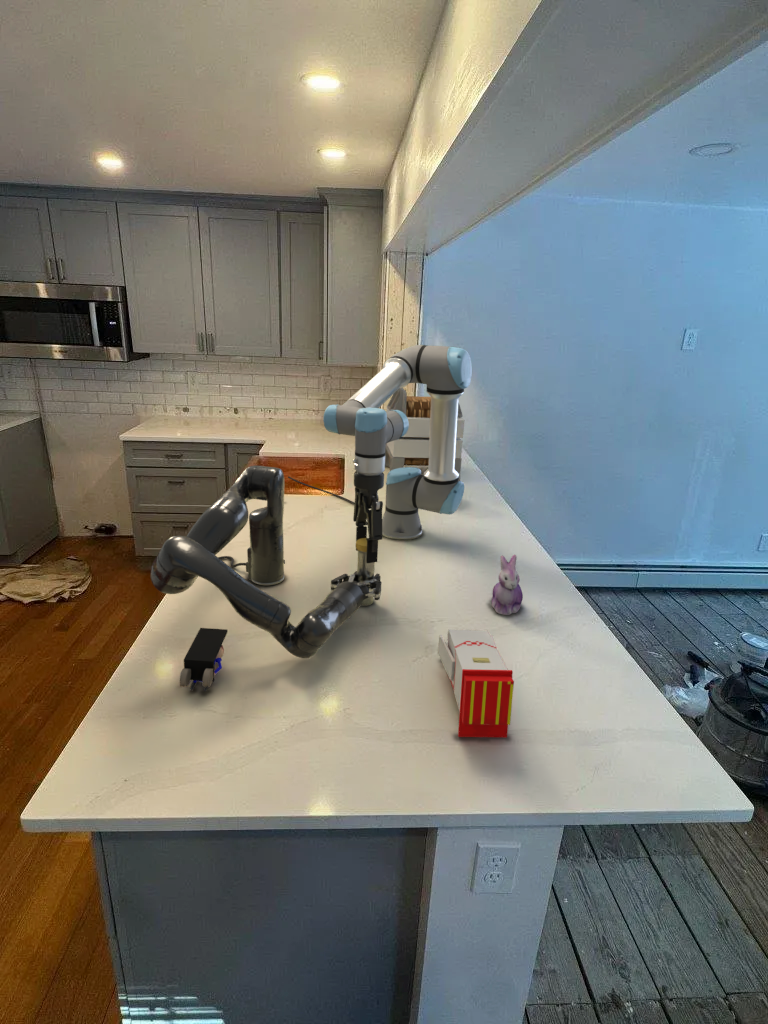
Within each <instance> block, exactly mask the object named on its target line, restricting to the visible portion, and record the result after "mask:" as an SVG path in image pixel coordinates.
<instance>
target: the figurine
mask: <svg viewBox="0 0 768 1024" xmlns="http://www.w3.org/2000/svg"><path fill="white" fill-rule="evenodd" d="M517 557H518V556H517V554H513V555H512V556H511V558H510V560H509V561H507V559H506V557H505V556H504V555H501V556H500V558H499V559H500V572H499V574H498V582H497V583H496V584H495V585H494V586H493V588H492V594H491V595H492V597H491V607H492V608H493V609H494V610H495V612H496V613H498V614H499V615H505V616H510V615H512V614H515V613H517V612H519V610H520V609H521V605H522V602H523V599H524V598H523V597H524V593H523V591H522V587H521V585H520V584H519V583H520V575H519V573H518V570H517V567H516V565H517V559H518V558H517Z"/></svg>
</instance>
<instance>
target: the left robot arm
mask: <svg viewBox="0 0 768 1024" xmlns="http://www.w3.org/2000/svg"><path fill="white" fill-rule="evenodd" d="M285 480H286V479H285V474H284V471H283V470H282V469H281V468H279V467H275V466H264V465H250V466H248V467H246V468H245V469H244V470H243V471H242V473H241V474H240V475H239V476H238V478H237V479H236V480H235V481H234V482H233V483H232V485H231V486H230V487H229V488H228V489H227V490H226V491H225V492H224V493H223V494H222V495H221V496H220V497H219V498H218V499H217V500H215V501H214V502H213V503H212V504H210V506H209V507H207V508H206V509H205V510H204V511H203V513H202V514H201V515H200V516H199V518H198V519H197V521H196V522H194V524H193V525H192V527H191V529H190V530H189V532H188V533H187V535H173V536H170V537H169V538H168V539H167V538H166V540H165V541H164V543H163V544H162V546H161V547H160V549H159V550H158V553H157V555H156V556H155V558H154V560H153V562H152V564H151V567H150V573H149V575H150V581H151V583H152V585H153V587H154V588H155V589H156V590H157V591H159V592H160V593H161V594H165V595H178V594H181V593H184V592H185V591H187V590H189V589H190V588H191V587H192V586H193V585H194V584H195V582H196V580H198V577H199V578H201V579H203V580H206V581H207V582H209V583H211V584H212V585H213V586H214V587H215V588H217V590H218V591H219V592H221V594H222V595H223V596H224V598H226V600H227V601H228V603H229V604H230V605H231V607H232V608H233V609H234V611H235V612H236V613H237V614H238V615H239V616H240V617H241V618H242V619H244V620H245V621H246V622H249V623H250V624H252V625H254V626H256V627H258V628H259V629H261V630H263V631H265V632H267V633H268V634H270V635H271V636H272V637H273V638H274V639H275V640H276V642H278V643H279V644H280V646H282V647H283V648H284V649H285V650H286V652H288V653H290V654H291V655H292V656H294V657H296V658H299V659H310V658H312V657H313V656H314V655H316V654H317V652H318V651H319V650H320V649H321V648H322V646H323V645H324V644H325V643H326V642H327V641H328V640H329V639H330V637H331V636H332V635H333V634H334V632H335V631H337V630H338V629H339V628H340V627H341V626H342V625H343V624H344V623H345V622H346V621H348V620H349V619H350V617H352V615H353V614H355V612H357V610H358V609H359V608H360V607H361V606H362V605H361V604H362V602H363V601H364V600H365V599H367V598H368V597H373V600H374V601H380V598H381V594H382V583H383V582H382V581H381V578H382V577H381V574H380V573H376V574H374V577H373V578H372V579H371V580H369V581H368V580H366V581H364V582H362V583H360V582H357V570H355V571H354V572H353V573H351V574H350V575H349V574H348V573H343V574H341V575H339V576H337V577H334V578H333V579H331V580H330V590H331V592H329V593H328V594H327V595H326V596H325V598H324V599H323V600H322V601H321V602H320V603H319V604H318V605H317V606H316V607H315V608H313V609H311V610H310V611H309V612H308V613H306V615H305V616H304V617H302V619H301V620H300V621H299V622H298V624H297V625H296V626H295V625H293V624H292V623H291V621H290V617H291V616H292V608H291V607H290V605H288V604H287V603H286V602H284V601H281V600H280V599H278V598H277V597H275V596H273V595H271V594H270V593H268V592H265V591H264V590H262V589H261V588H259V587H258V586H274V585H278V584H280V583H281V582H283V581H284V580H285V564H286V560H285V556H284V555H285V551H284V549H285V548H284V514H285V513H284V512H285V489H286V488H285V485H286V484H285V483H286V482H285ZM250 500H257V501H265V502H266V506H264V507H259V508H257V509H254V510H252V511H251V512H250V513H249V509H248V505H247V502H249V501H250ZM247 523H248V524H249V525H248V526H249V528H248V529H249V547H248V548H247V550H246V556H247V561H246V562H238V563H235V564H234V562H235V560H234V557H232V556H229V555H224V556H217V554H218V553H220V552H221V551H222V550H223V549H224V548H225V547H226V546H227V545H228V544H229V543H230V542H231V541H232V540H234V539H235V537H237V535H239V533H241V531H242V530H243V529H244V528H245V526H247ZM223 559H224V560H225V559H227V560H230V565H228V564H227V563H226V562H225V561H223ZM240 566H245V572H246V573H247V577H248V578H247V579H248V580H247V579H246V578H244V577H243V576H242V575H241V574H240V573H238V572H237V571H236V570H234V569H233V568H237V567H240ZM232 567H233V568H232ZM249 580H250V581H251V582H252V583H251V582H250V581H249ZM254 584H256V585H258V586H256V585H254ZM372 590H373V591H372Z"/></svg>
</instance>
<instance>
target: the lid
mask: <svg viewBox="0 0 768 1024" xmlns="http://www.w3.org/2000/svg"><path fill="white" fill-rule="evenodd" d="M356 549H357V550H359V551H362V552H367V540H366V538H361V539H358V540H357V541H356V540H355V550H356Z"/></svg>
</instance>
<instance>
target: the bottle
mask: <svg viewBox="0 0 768 1024" xmlns="http://www.w3.org/2000/svg"><path fill="white" fill-rule="evenodd" d="M366 559H367V552H362V551H359V550H358V551H357V562H356V563H357V565H356V566H357V567H356V571H357V582H360V583H362V582H364V581H366V580H368V581H369V580H371V579H372V578H373V577H374V576H375V568H376V567H375V564H376V562H374V563H367V562H366ZM372 591H373V590H372ZM373 603H374V597H368V598H367V599H365V600H364V601H363V602H362V604H361V605H360V606H363V607H367V606H370V605H373Z"/></svg>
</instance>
